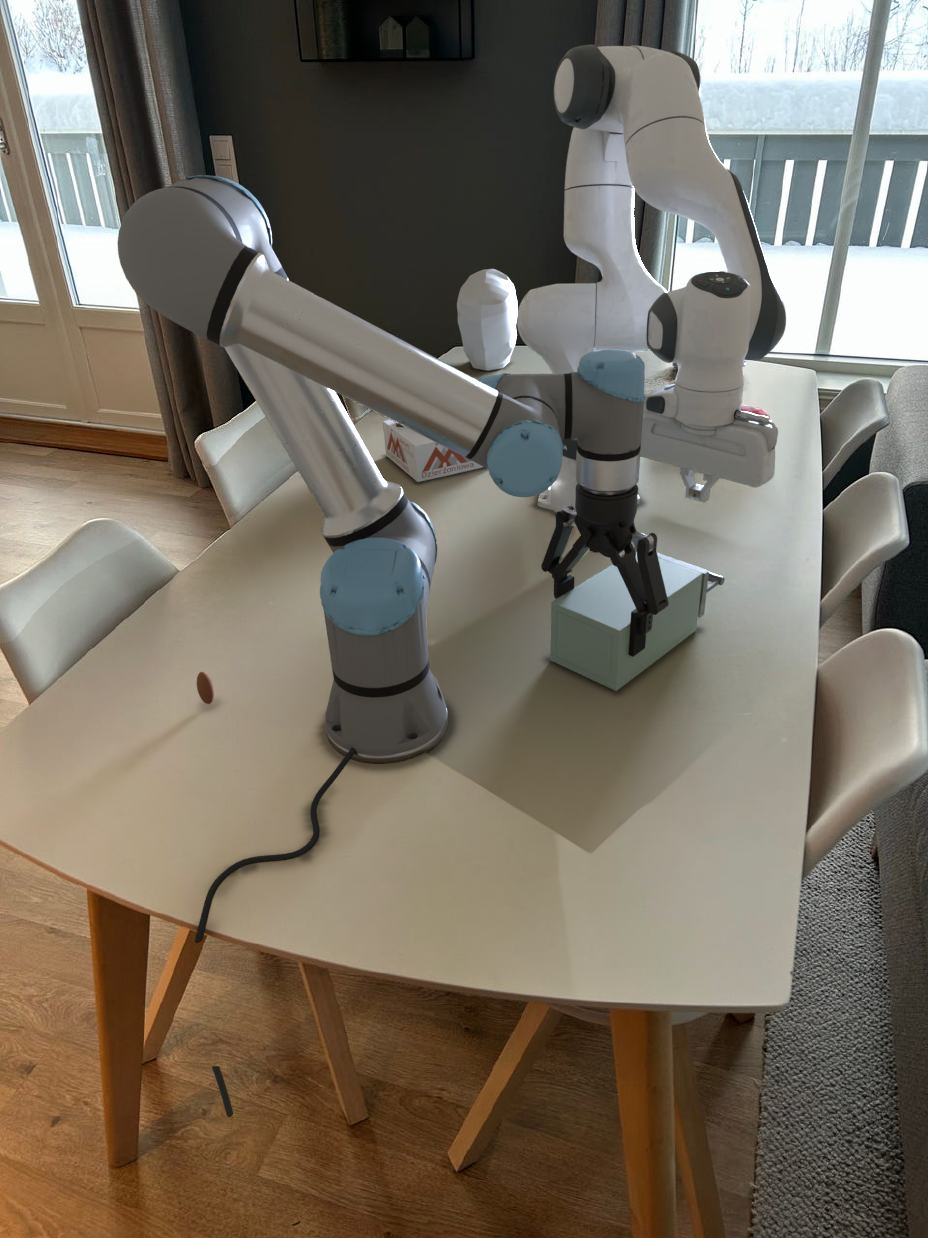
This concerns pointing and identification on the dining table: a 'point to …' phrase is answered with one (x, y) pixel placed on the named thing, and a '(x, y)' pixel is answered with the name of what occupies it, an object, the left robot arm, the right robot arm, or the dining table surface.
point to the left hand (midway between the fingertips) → (599, 635)
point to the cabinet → (620, 624)
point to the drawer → (705, 578)
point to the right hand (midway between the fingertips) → (697, 499)
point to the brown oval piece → (205, 687)
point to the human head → (488, 319)
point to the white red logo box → (422, 454)
